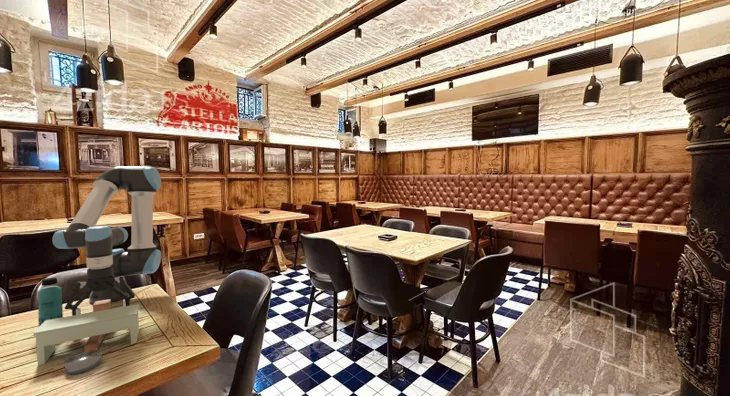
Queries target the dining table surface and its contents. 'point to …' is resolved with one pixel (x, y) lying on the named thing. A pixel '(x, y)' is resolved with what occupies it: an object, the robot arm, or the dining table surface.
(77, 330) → the shelf
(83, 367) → the puck
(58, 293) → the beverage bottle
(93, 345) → the paddle
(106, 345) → the dining table surface
